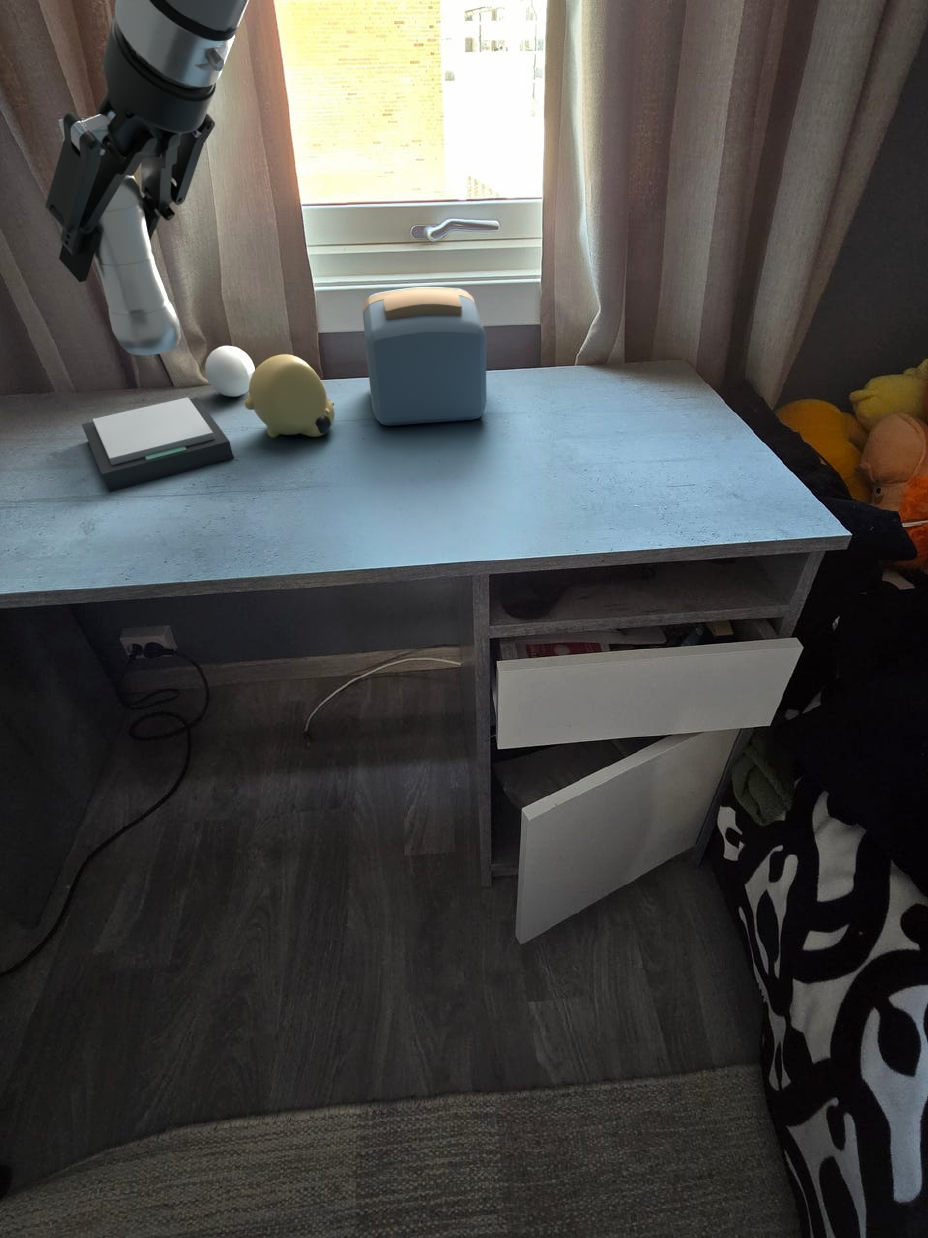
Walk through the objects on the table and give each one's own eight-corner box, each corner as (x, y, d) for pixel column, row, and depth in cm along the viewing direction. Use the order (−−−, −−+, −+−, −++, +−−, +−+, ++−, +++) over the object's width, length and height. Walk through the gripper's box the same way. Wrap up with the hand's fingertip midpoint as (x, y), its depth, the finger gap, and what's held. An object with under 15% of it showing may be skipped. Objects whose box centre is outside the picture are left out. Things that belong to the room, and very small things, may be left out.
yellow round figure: (298, 469, 97) (348, 421, 92) (225, 412, 91) (274, 357, 86) (307, 434, 104) (354, 388, 99) (240, 379, 98) (286, 327, 93)
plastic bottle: (150, 367, 69) (71, 125, 56) (107, 355, 72) (23, 121, 59) (199, 347, 73) (137, 116, 60) (157, 336, 76) (88, 112, 63)
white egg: (256, 403, 105) (245, 355, 100) (207, 405, 105) (193, 357, 100) (267, 377, 112) (257, 331, 107) (221, 378, 112) (209, 332, 107)
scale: (108, 491, 86) (98, 466, 84) (88, 440, 97) (78, 417, 94) (234, 458, 92) (227, 433, 90) (202, 413, 103) (195, 390, 100)
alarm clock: (472, 377, 111) (471, 270, 100) (488, 422, 99) (489, 306, 88) (370, 384, 109) (359, 277, 99) (374, 431, 97) (362, 314, 87)
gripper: (98, 107, 46) (45, 321, 63) (286, 83, 58) (199, 268, 75) (13, 3, 45) (-18, 251, 62) (224, 1, 57) (150, 208, 74)
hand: (102, 260), depth 69 cm, fingers closed on plastic bottle, 6 cm apart
